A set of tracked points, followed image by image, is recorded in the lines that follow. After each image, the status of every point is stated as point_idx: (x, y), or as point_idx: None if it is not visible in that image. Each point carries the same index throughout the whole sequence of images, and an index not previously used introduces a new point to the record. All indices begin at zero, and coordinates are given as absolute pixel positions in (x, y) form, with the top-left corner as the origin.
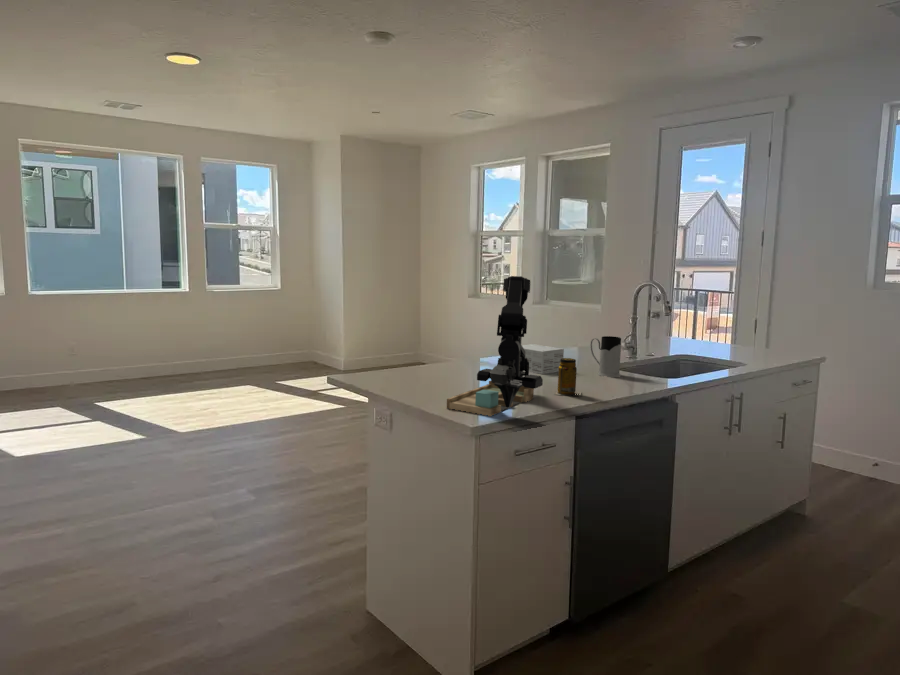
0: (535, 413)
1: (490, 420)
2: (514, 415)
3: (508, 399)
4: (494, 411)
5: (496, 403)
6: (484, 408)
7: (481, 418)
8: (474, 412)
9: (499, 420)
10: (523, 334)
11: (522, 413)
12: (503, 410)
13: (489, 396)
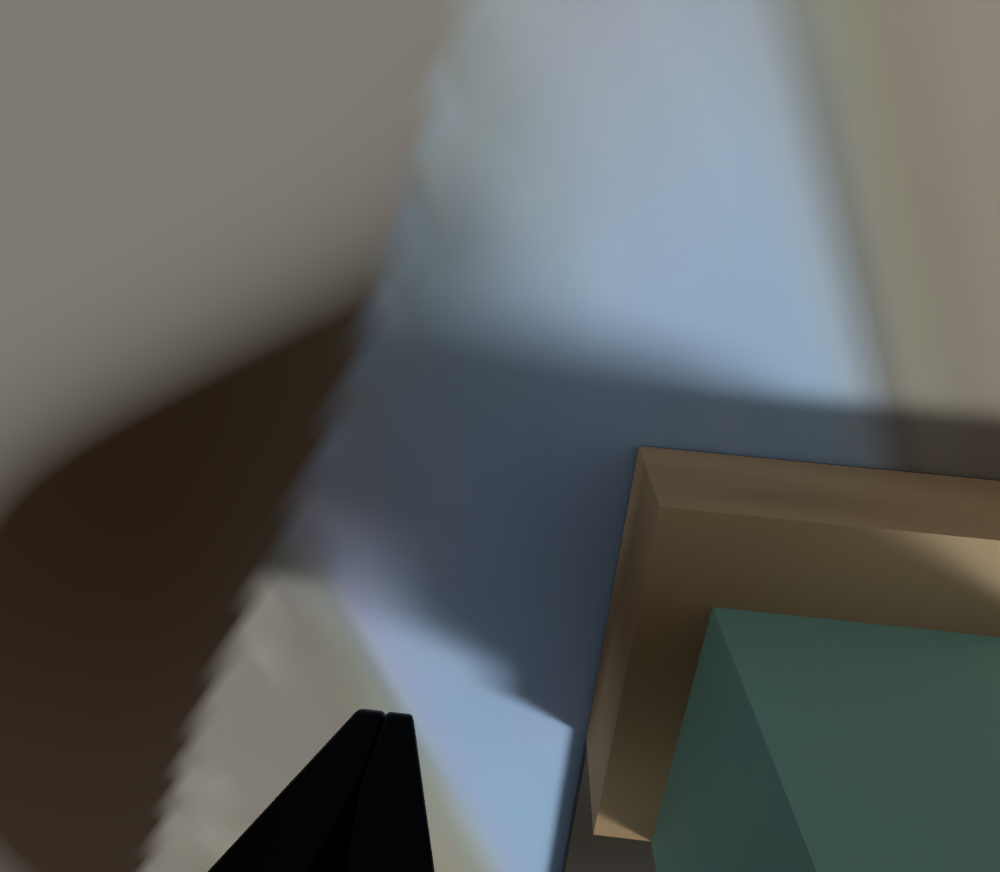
0: (181, 840)
1: (541, 178)
2: (340, 666)
3: (286, 856)
4: (624, 602)
5: (670, 836)
6: (823, 527)
7: (759, 222)
8: (990, 486)
9: (394, 280)
10: None
11: None
12: (576, 801)
13: (855, 859)
